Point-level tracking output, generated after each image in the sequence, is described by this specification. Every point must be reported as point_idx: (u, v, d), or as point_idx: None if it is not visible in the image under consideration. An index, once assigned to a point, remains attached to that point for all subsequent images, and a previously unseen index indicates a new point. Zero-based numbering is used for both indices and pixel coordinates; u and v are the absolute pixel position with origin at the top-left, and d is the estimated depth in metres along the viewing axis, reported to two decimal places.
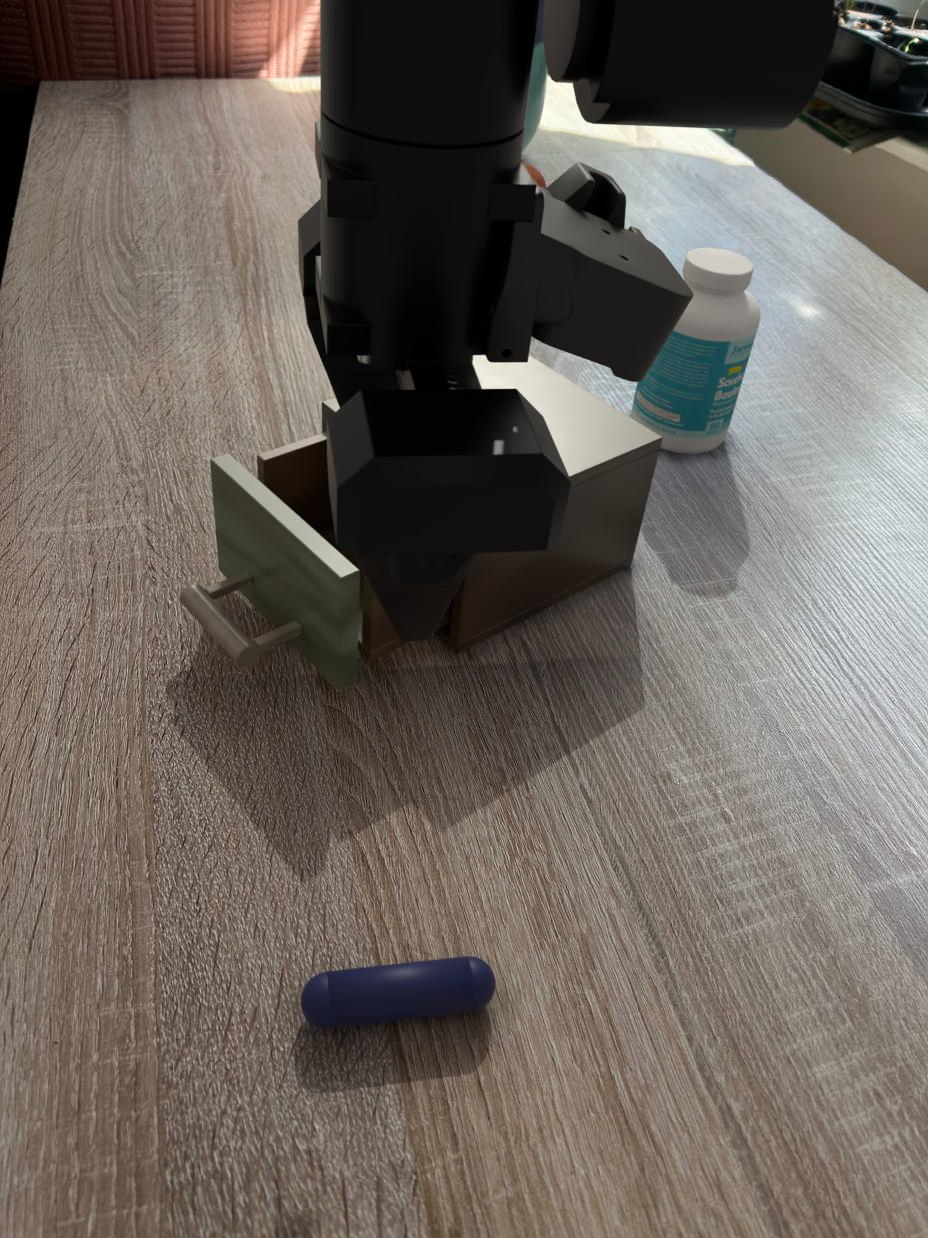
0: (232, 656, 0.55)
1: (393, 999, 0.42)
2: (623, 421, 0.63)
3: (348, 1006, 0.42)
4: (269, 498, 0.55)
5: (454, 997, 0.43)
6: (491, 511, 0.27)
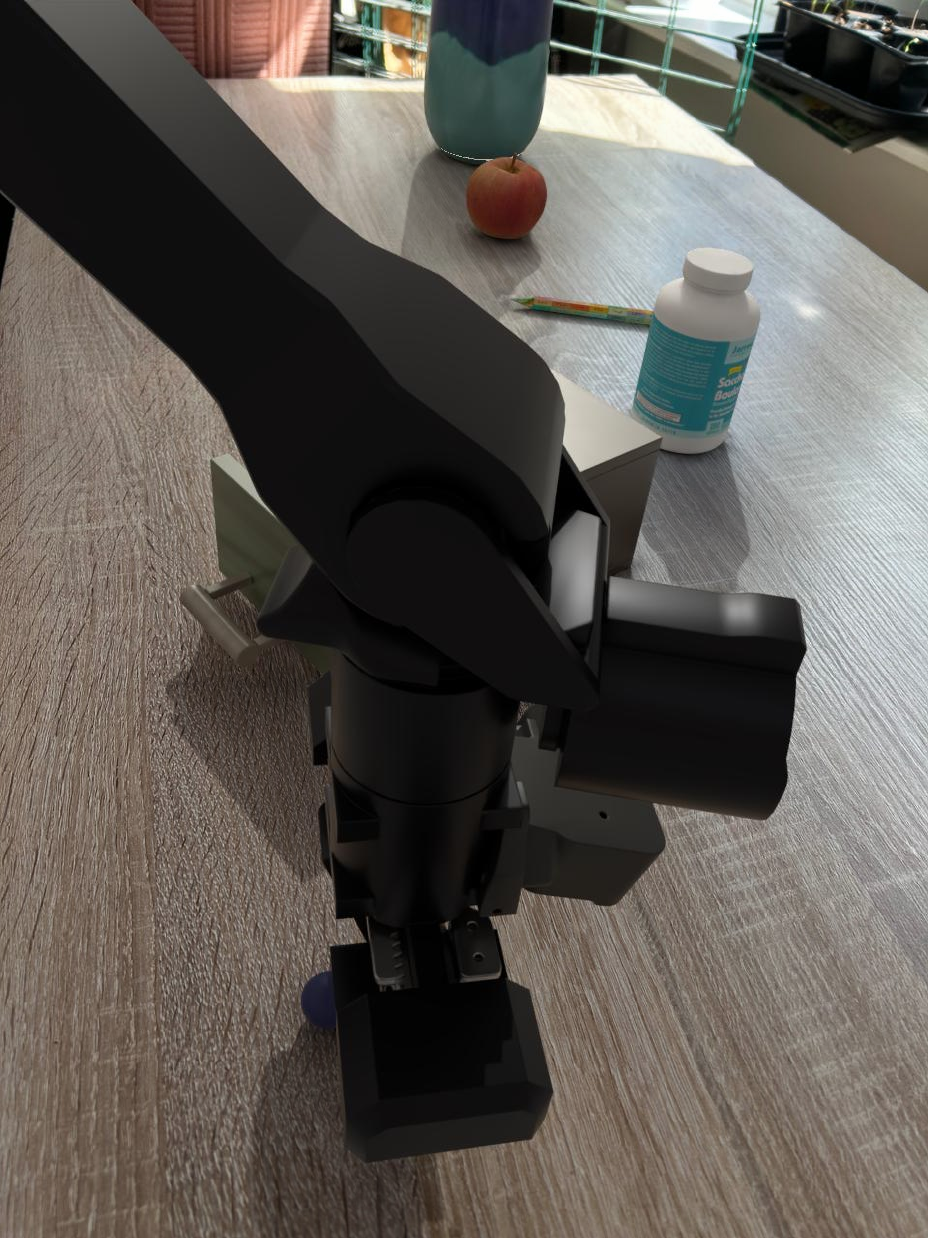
0: (232, 656, 0.55)
1: None
2: (623, 421, 0.63)
3: None
4: None
5: None
6: (481, 1127, 0.31)
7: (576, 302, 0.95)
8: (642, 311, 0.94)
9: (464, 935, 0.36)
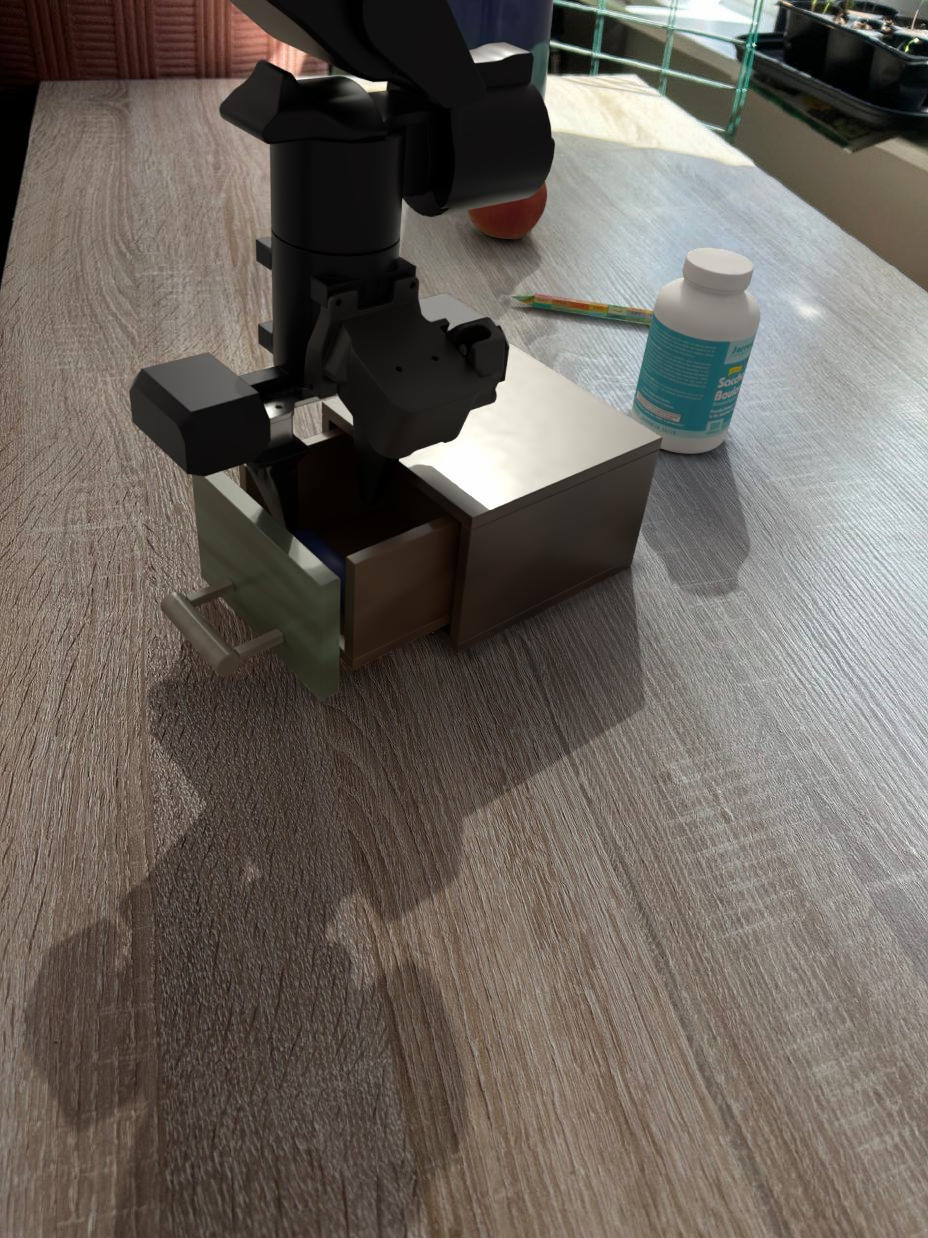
0: (212, 665, 0.54)
1: (328, 556, 0.59)
2: (623, 421, 0.63)
3: (309, 540, 0.60)
4: (250, 505, 0.55)
5: None
6: (165, 429, 0.46)
7: (576, 300, 0.95)
8: (642, 311, 0.94)
9: (269, 405, 0.48)
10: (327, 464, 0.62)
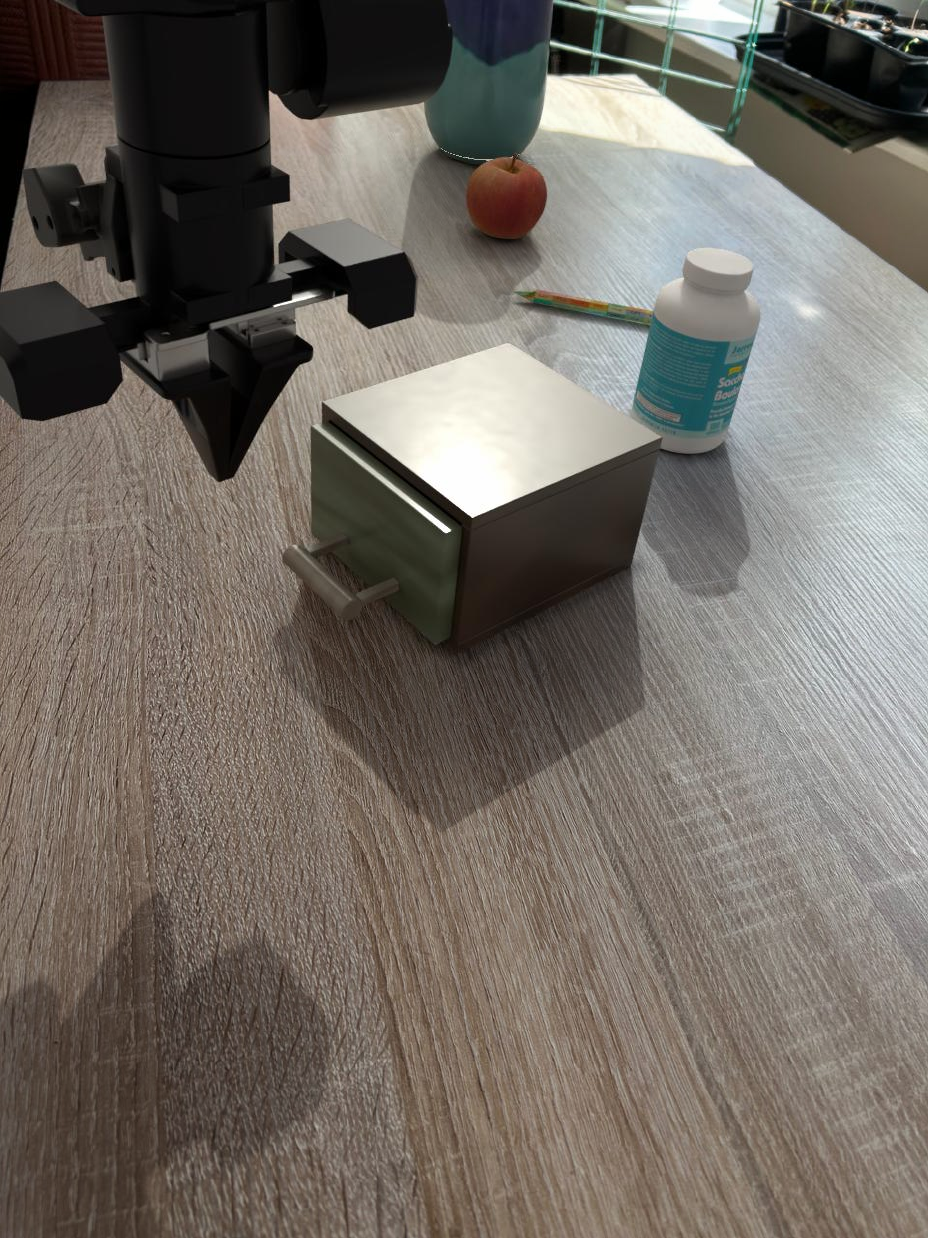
0: (337, 609, 0.58)
1: None
2: (623, 421, 0.63)
3: None
4: (370, 461, 0.59)
5: None
6: None
7: (577, 298, 0.95)
8: (642, 310, 0.94)
9: None
10: None
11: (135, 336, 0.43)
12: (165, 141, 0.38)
